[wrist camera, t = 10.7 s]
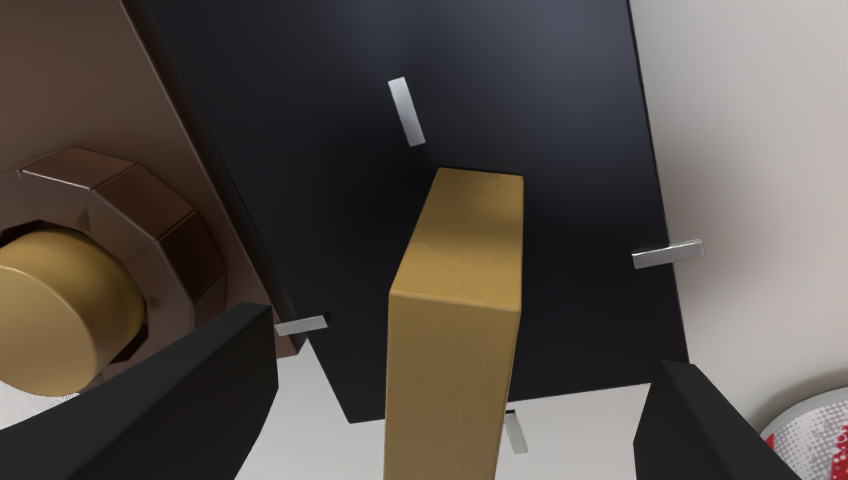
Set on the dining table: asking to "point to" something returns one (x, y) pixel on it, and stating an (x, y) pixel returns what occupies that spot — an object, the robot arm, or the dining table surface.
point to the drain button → (63, 311)
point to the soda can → (813, 436)
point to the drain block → (125, 167)
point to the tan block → (454, 329)
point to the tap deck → (448, 148)
